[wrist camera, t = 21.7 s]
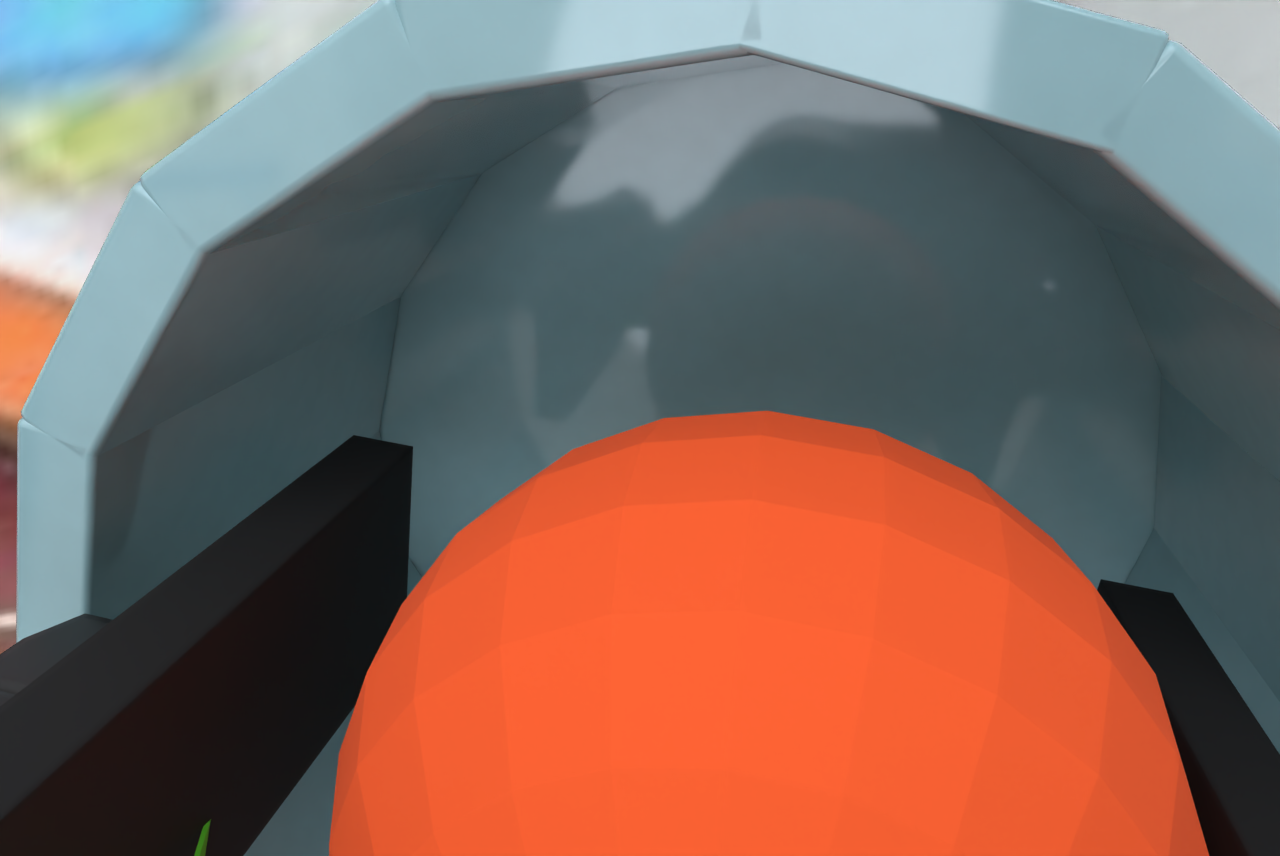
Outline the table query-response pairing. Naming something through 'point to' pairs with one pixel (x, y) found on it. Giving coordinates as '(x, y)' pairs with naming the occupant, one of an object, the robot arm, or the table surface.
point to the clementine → (757, 668)
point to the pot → (689, 287)
